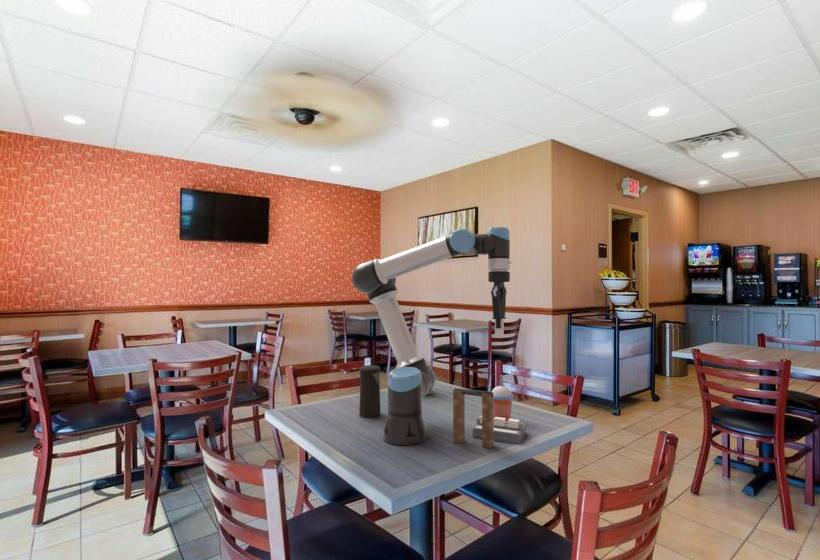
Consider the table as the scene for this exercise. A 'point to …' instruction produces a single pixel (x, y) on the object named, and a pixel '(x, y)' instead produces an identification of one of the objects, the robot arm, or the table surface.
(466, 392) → the dark grey rod
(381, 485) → the table surface
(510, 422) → the breaker paddles
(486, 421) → the posts
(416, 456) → the table surface
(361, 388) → the container
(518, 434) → the breaker panel
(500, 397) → the cup with straw
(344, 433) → the table surface
